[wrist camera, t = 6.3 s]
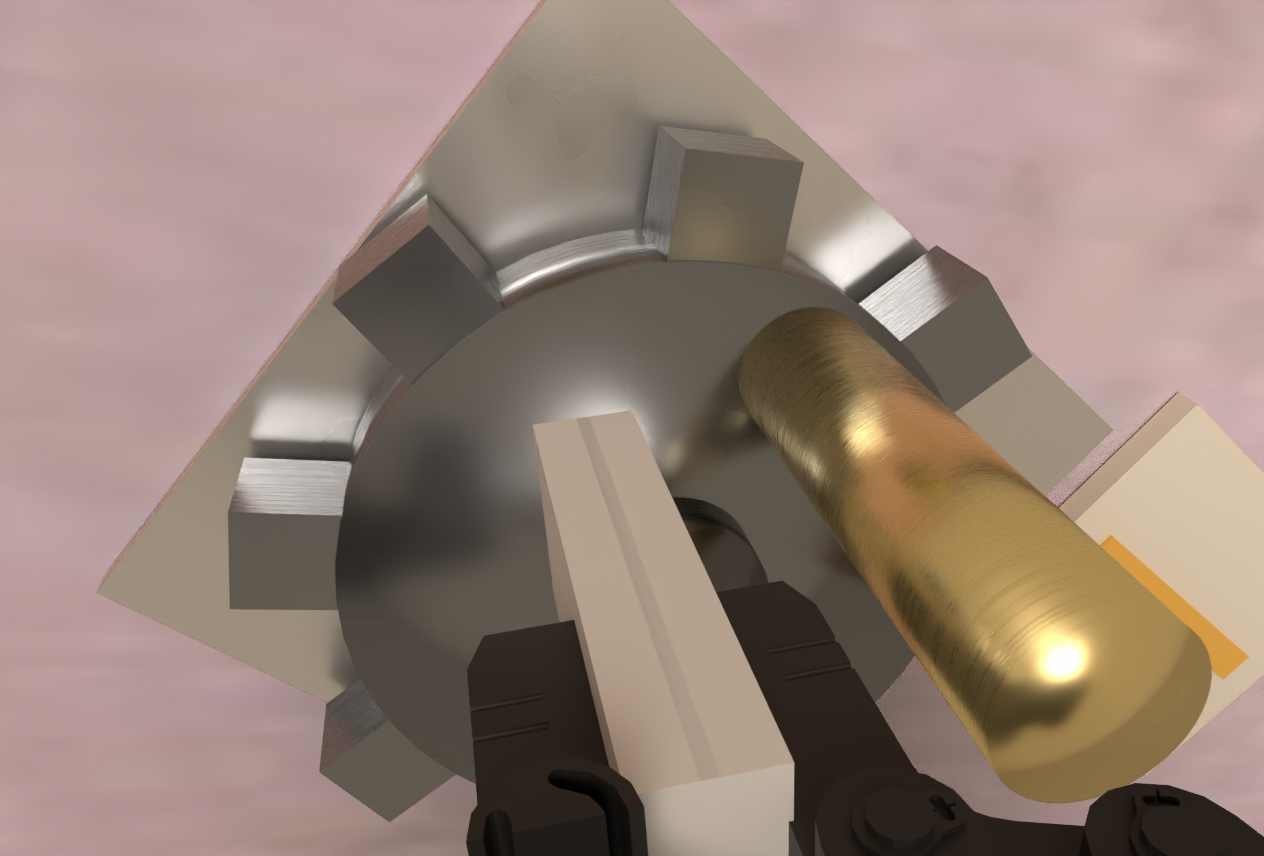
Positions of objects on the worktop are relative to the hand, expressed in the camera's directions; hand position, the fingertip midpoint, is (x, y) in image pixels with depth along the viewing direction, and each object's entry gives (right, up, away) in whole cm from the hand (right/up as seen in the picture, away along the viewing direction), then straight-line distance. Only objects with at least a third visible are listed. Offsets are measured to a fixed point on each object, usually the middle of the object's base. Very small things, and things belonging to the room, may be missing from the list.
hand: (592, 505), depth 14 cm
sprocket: (+1, 0, +6) cm, 6 cm away
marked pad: (+13, -3, +10) cm, 16 cm away
